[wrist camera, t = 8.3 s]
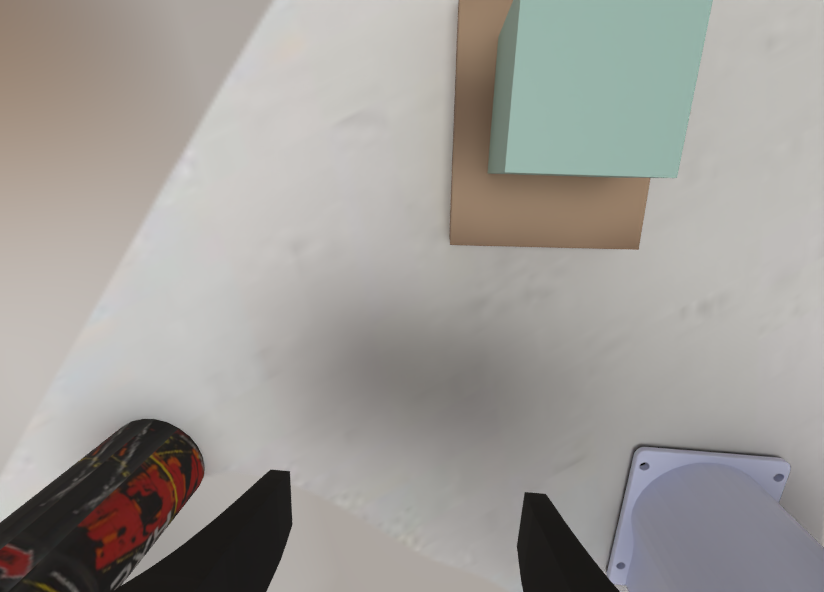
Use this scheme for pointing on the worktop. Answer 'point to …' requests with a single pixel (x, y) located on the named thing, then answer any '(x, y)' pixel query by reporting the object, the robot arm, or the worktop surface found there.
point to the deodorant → (101, 512)
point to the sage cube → (595, 87)
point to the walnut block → (523, 194)
